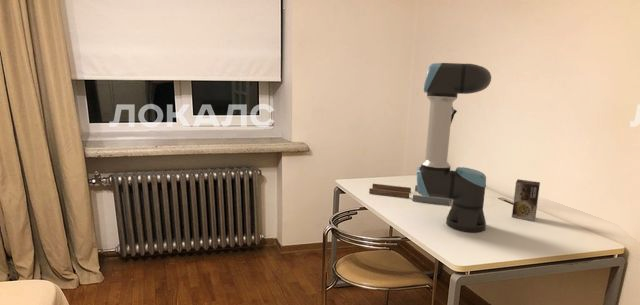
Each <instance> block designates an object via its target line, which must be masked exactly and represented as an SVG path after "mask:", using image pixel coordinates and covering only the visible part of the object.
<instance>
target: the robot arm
mask: <svg viewBox="0 0 640 305" xmlns="http://www.w3.org/2000/svg"><path fill="white" fill-rule="evenodd" d="M491 81H492V74H491V72H490V71H489V70H488V68H486V67H484V66H481V65H478V64H473V63H459V62H458V63H456V62H437V63H431V64H430V65H429V66H428V68H427V73H426V75H425V81H424V86H423V92H424V93H425V94H426V98H427V99H428V100H429V102H430V103H429V113H428V114H429V115H428V122H427V123H428V127H427V136H426V147H425V157H424V158H425V159H424V160H423V161H422V162H421V163H420V166H418V167H417V169H416V185H417V189H418V191H417V192H418V195H421V196H428V197H437V198H446V199H450V200H452V206H451V208H450V209H449V211H448V214H447V216H446V221H445V223H446V225H447V226H448V227H450V228H452V229H454V230H457V231H460V232H465V233H481V232H484V231H485V230H486V227H487V223H486V222H487V221H486V218H485V214H484V213H485V212H484V205H485V203H484V201H485V193H486V188H487V176H486V175H485V173H484V172H482V171H479V170H477V169H473V168H470V167H464V166H463V167H461V166H458V167H456V168H455V170H451V165H450V164H449V162H448V158H449V157H448V156H449V146H450V145H449V144H450V137H451V136H450V134H451V125H452V123H453V121H454V117H455V114H456V113H457V112H458V111H457V109H455V108H454V107H453V103H454V102H455V101H456V100H457V99H458V95H460V94H461V95H462V94H463V95H466V94H467V95H468V94H469V95H470V94H474V93H478V92H482V91H484V90H486V89H487V88H488V87H489V86H490V84H491Z"/></svg>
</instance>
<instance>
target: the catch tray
mask: <svg viewBox="0 0 640 305" xmlns="http://www.w3.org/2000/svg"><path fill="white" fill-rule="evenodd" d="M414 192H418V189H417V184H415V186H414ZM412 202H415V203H416V202H417V203H423V204H424V203H426V204H432V205H433V204H434V205H441V206H442V205H443V206H450V202H451V199H446V198H437V197H428V196H423V195H420V194H412Z"/></svg>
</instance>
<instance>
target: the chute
mask: <svg viewBox="0 0 640 305" xmlns="http://www.w3.org/2000/svg"><path fill="white" fill-rule="evenodd" d="M371 187H372V188H371ZM371 187H369V189H368V190H369V191H368V194H369V195H379V196H387V197H396V198H403V199H410V194H411V192H412V187H407V186H400V185H397V186H396V185H390V184H382V183H381V184H380V183H372V185H371Z"/></svg>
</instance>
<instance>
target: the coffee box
mask: <svg viewBox="0 0 640 305" xmlns="http://www.w3.org/2000/svg"><path fill="white" fill-rule="evenodd" d="M540 186H541V182H540V181H532V180H524V179H520V178H518V179H516V182H515V188H514V196H513V205H512V212H511V218H514V219H520V220H525V221H530V222H535V221H536V218H537V217H536V216H537V210H538V209H537V208H538V203H539V202H538V201H539V195H540V194H539V193H540Z"/></svg>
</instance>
